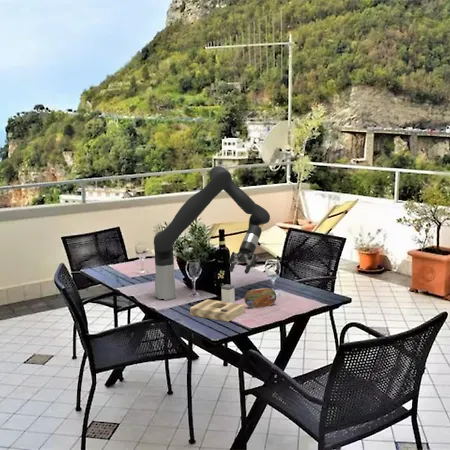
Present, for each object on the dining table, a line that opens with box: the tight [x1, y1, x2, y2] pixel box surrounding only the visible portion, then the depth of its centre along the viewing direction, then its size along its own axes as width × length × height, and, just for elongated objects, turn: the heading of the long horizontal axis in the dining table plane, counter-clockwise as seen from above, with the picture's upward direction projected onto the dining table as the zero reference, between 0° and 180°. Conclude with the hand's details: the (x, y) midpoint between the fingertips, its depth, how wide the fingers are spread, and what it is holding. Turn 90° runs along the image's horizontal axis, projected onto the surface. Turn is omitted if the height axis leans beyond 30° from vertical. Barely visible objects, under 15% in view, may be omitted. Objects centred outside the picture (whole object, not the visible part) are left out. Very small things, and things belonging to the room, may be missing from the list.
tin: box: [243, 287, 277, 309], centre depth 260 cm, size 15×3×8 cm, turn 106°
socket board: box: [189, 299, 246, 322], centre depth 251 cm, size 20×14×4 cm
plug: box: [220, 283, 236, 304], centre depth 264 cm, size 4×4×9 cm
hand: (238, 272), depth 271 cm, fingers open, 8 cm apart
